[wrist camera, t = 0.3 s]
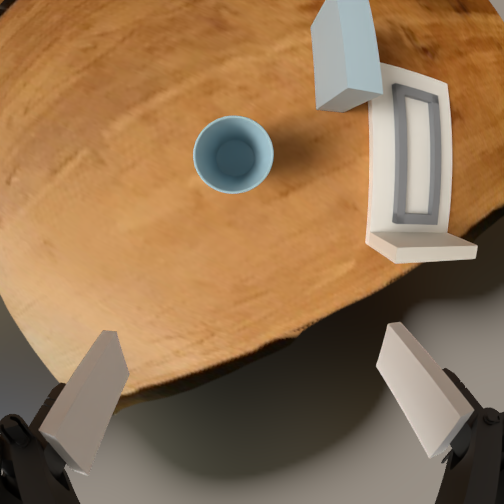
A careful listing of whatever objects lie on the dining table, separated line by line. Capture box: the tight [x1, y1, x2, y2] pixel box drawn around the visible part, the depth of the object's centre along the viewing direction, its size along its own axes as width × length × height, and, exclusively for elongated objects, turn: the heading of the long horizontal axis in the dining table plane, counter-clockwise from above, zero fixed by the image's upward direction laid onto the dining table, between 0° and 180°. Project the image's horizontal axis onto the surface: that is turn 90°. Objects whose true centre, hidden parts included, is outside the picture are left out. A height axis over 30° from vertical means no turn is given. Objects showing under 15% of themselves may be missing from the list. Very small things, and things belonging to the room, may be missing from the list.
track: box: [365, 62, 478, 264], centre depth 31 cm, size 28×16×9 cm, turn 1°
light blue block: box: [311, 0, 383, 113], centre depth 26 cm, size 14×4×12 cm, turn 1°
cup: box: [193, 116, 274, 194], centre depth 30 cm, size 8×8×10 cm
